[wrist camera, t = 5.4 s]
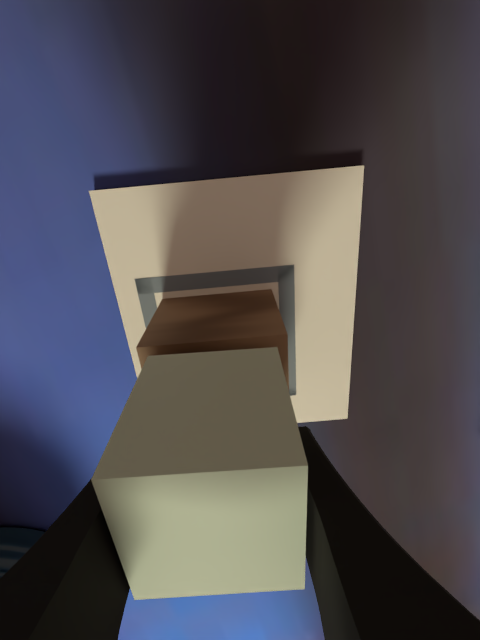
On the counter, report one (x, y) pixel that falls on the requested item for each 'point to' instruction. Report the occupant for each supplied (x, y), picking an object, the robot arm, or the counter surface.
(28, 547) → the canister
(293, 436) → the sage block
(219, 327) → the walnut block
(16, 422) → the counter surface
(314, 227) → the cream square tray
